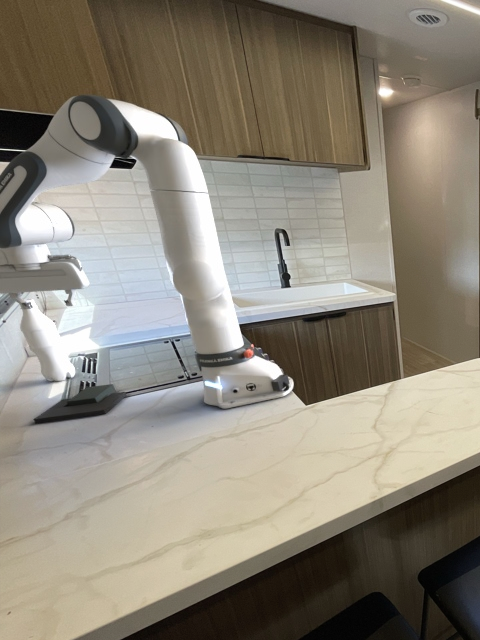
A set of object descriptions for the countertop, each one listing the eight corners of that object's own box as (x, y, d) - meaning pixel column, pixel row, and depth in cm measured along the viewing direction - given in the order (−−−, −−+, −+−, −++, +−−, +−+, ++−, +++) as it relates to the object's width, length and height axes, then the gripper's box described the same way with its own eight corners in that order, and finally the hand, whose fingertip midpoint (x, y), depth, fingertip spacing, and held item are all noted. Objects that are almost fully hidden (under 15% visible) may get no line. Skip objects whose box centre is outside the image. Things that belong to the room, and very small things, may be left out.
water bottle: (57, 383, 123) (19, 303, 113) (39, 382, 124) (0, 302, 114) (84, 375, 129) (50, 297, 120) (66, 373, 131) (31, 297, 121)
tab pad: (116, 391, 117) (113, 384, 116) (98, 405, 109) (95, 397, 108) (90, 394, 115) (86, 387, 114) (70, 409, 107) (66, 401, 106)
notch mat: (126, 395, 115) (125, 391, 114) (105, 413, 104) (103, 409, 104) (63, 403, 110) (62, 399, 110) (35, 423, 100) (33, 419, 99)
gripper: (83, 253, 113) (102, 301, 118) (-15, 256, 106) (10, 308, 111) (70, 255, 107) (91, 306, 113) (-34, 259, 101) (-7, 313, 106)
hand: (50, 307), depth 112 cm, fingers open, 8 cm apart
